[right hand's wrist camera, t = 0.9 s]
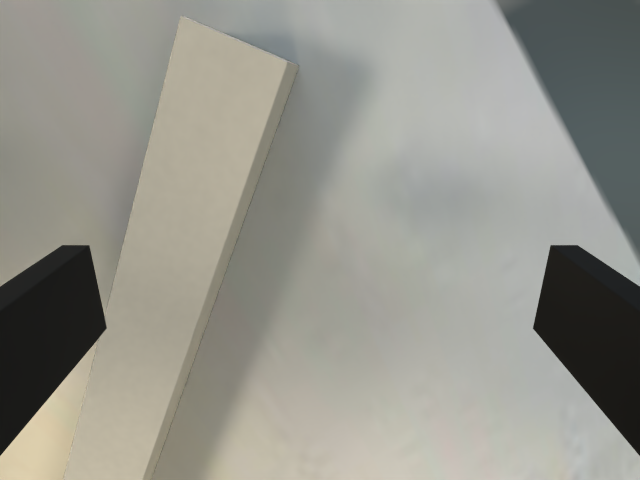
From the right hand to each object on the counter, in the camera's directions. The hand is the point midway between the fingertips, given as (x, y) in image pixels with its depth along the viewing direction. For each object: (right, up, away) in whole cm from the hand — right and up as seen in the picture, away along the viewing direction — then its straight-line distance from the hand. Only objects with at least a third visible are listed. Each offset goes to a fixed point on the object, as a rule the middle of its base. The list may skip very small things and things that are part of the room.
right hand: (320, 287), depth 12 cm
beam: (-18, -19, +27) cm, 37 cm away
